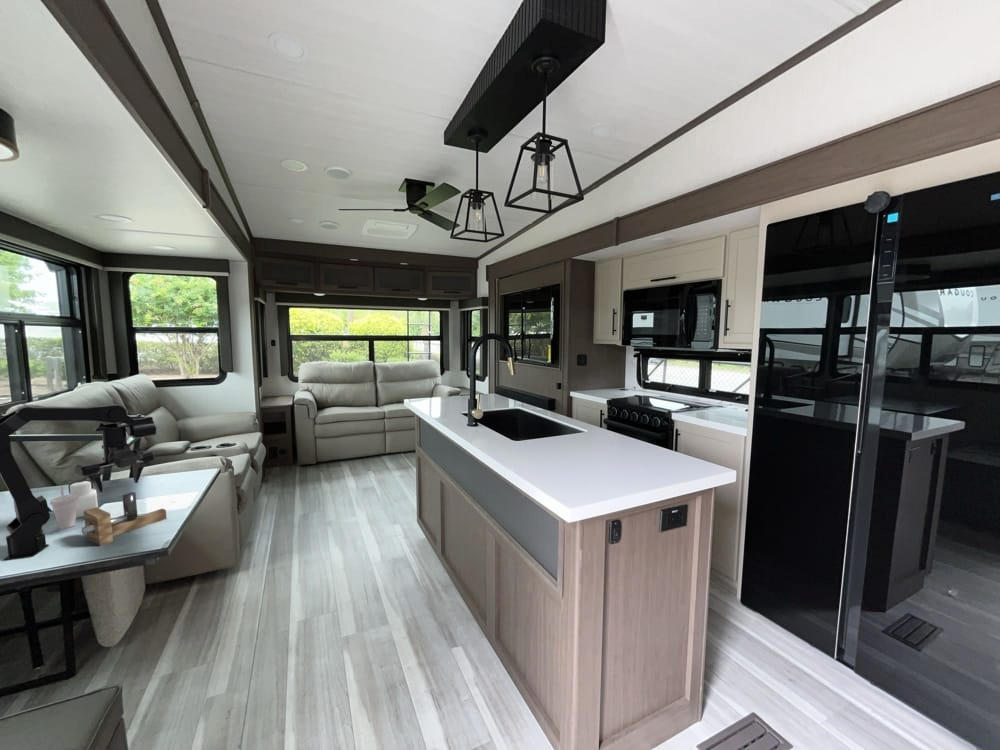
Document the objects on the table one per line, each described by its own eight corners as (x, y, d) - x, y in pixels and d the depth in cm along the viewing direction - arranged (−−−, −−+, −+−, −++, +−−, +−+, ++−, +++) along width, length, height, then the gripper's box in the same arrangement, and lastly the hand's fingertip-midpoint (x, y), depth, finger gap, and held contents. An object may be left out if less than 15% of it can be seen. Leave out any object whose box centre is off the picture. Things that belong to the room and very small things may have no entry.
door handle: (85, 535, 121) (82, 508, 121) (81, 532, 123) (78, 506, 122) (139, 517, 133) (137, 493, 132) (135, 515, 134) (132, 491, 134)
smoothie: (47, 531, 131) (42, 490, 129) (62, 522, 137) (58, 483, 135) (71, 529, 132) (67, 488, 131) (85, 520, 139) (81, 481, 137)
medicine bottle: (70, 513, 144) (66, 481, 143) (98, 507, 149) (94, 476, 148) (68, 520, 139) (65, 486, 138) (97, 513, 144) (94, 481, 143)
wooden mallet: (100, 545, 122) (97, 517, 121) (86, 538, 127) (83, 510, 126) (172, 521, 138) (169, 495, 137) (157, 515, 143) (155, 490, 142)
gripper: (88, 452, 121) (93, 501, 122) (161, 438, 138) (165, 482, 139) (71, 447, 125) (76, 495, 127) (144, 434, 142) (147, 477, 144)
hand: (119, 487), depth 134 cm, fingers open, 9 cm apart
